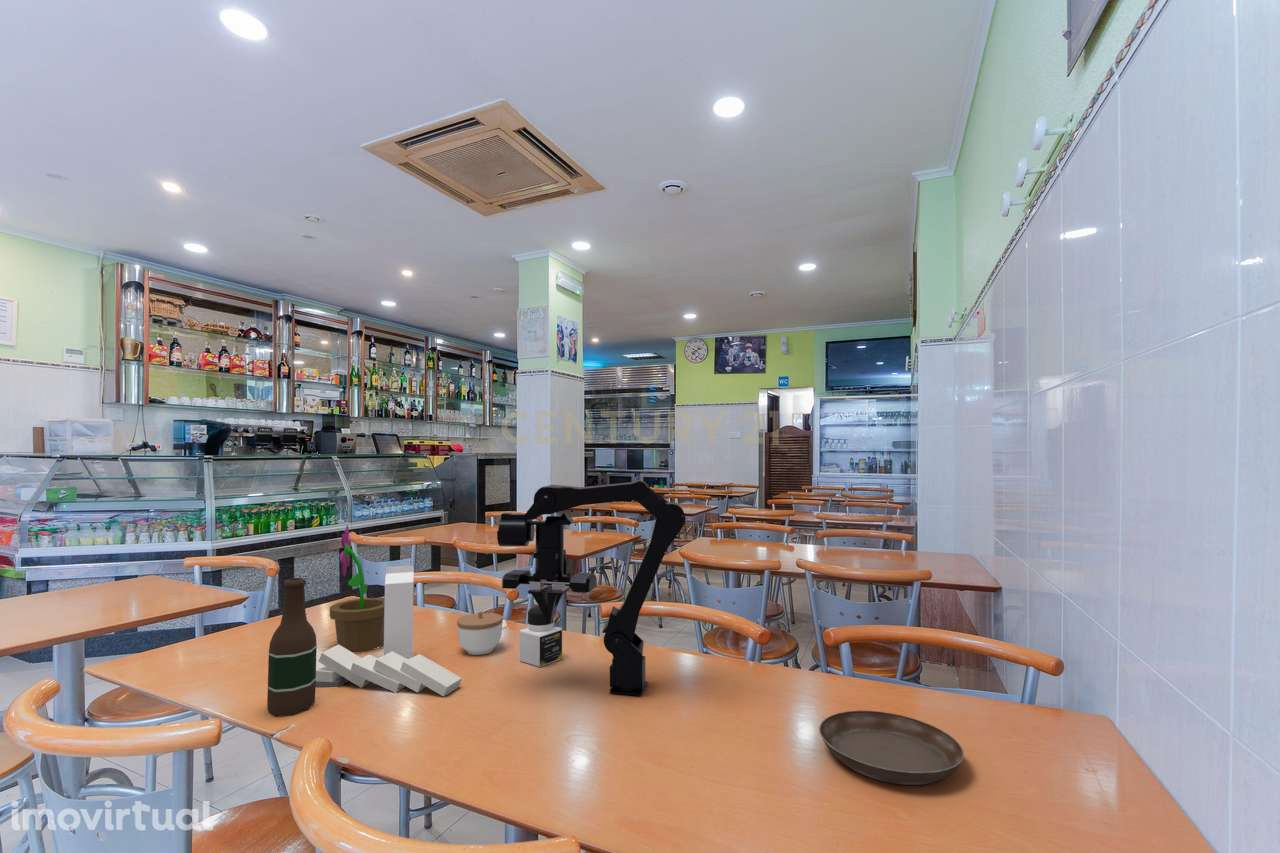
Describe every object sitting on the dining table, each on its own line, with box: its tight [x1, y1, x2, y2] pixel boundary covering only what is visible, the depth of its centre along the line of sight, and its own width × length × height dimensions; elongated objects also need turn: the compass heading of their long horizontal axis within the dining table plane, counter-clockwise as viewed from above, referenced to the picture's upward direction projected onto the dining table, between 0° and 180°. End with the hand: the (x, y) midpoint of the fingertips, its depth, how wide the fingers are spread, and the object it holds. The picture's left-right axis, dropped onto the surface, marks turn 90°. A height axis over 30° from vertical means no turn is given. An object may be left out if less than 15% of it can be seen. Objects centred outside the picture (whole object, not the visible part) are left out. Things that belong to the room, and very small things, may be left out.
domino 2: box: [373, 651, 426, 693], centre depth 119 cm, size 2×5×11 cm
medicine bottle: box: [518, 605, 563, 668], centre depth 135 cm, size 7×7×12 cm
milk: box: [383, 565, 415, 659], centre depth 133 cm, size 6×6×22 cm
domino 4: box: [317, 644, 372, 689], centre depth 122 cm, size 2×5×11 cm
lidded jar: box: [456, 610, 504, 656], centre depth 141 cm, size 11×11×9 cm
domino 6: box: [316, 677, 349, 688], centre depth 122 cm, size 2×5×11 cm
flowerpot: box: [329, 524, 385, 653], centre depth 146 cm, size 14×14×30 cm
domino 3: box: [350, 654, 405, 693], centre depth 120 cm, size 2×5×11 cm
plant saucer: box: [818, 710, 965, 786], centre depth 91 cm, size 21×21×3 cm
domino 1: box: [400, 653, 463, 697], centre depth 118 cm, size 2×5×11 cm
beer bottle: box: [266, 577, 318, 717], centre depth 110 cm, size 8×8×24 cm
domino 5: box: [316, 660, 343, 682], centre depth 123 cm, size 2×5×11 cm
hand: (549, 623), depth 119 cm, fingers closed
